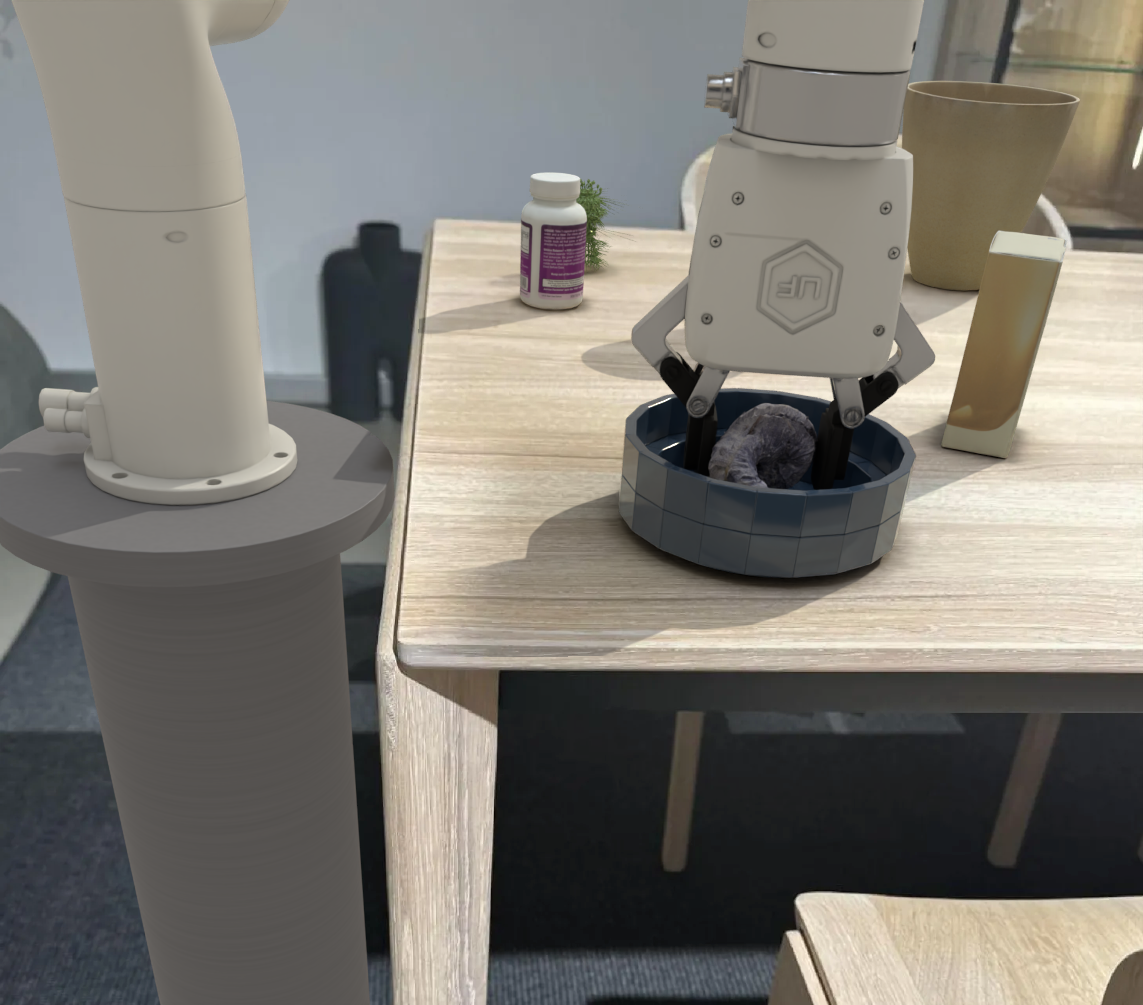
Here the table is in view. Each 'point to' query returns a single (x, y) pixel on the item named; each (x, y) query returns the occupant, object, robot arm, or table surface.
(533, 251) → the pill bottle
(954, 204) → the plant pot
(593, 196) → the green plant
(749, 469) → the seashell
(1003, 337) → the cosmetic box
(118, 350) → the robot arm
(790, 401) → the bowl
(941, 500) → the table surface
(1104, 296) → the table surface
